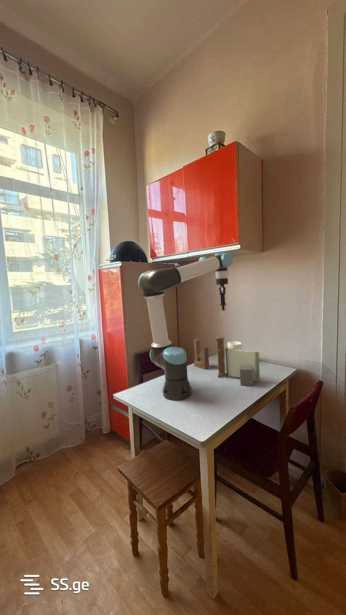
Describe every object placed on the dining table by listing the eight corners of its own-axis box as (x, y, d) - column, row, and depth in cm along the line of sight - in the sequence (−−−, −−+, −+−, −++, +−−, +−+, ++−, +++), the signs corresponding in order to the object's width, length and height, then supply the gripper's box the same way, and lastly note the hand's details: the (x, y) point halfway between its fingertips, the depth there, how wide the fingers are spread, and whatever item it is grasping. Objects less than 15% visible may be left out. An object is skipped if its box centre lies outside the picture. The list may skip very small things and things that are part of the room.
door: (226, 375, 147) (224, 348, 145) (227, 374, 148) (226, 348, 146) (258, 381, 135) (257, 352, 133) (259, 380, 136) (258, 352, 134)
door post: (217, 377, 146) (215, 338, 144) (218, 374, 151) (216, 336, 149) (226, 377, 145) (224, 338, 143) (226, 374, 150) (224, 336, 147)
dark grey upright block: (240, 385, 133) (239, 369, 132) (240, 381, 139) (239, 365, 138) (252, 386, 132) (251, 369, 131) (251, 381, 137) (251, 365, 137)
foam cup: (237, 364, 166) (236, 345, 164) (225, 361, 173) (224, 343, 171) (244, 360, 172) (244, 342, 170) (233, 358, 179) (232, 340, 177)
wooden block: (205, 369, 160) (204, 342, 159) (194, 365, 169) (192, 340, 167) (209, 368, 163) (208, 341, 161) (198, 364, 171) (196, 338, 169)
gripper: (227, 277, 149) (229, 316, 151) (228, 277, 161) (229, 313, 164) (215, 278, 151) (217, 317, 153) (216, 278, 163) (218, 314, 166)
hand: (223, 315), depth 158 cm, fingers closed
